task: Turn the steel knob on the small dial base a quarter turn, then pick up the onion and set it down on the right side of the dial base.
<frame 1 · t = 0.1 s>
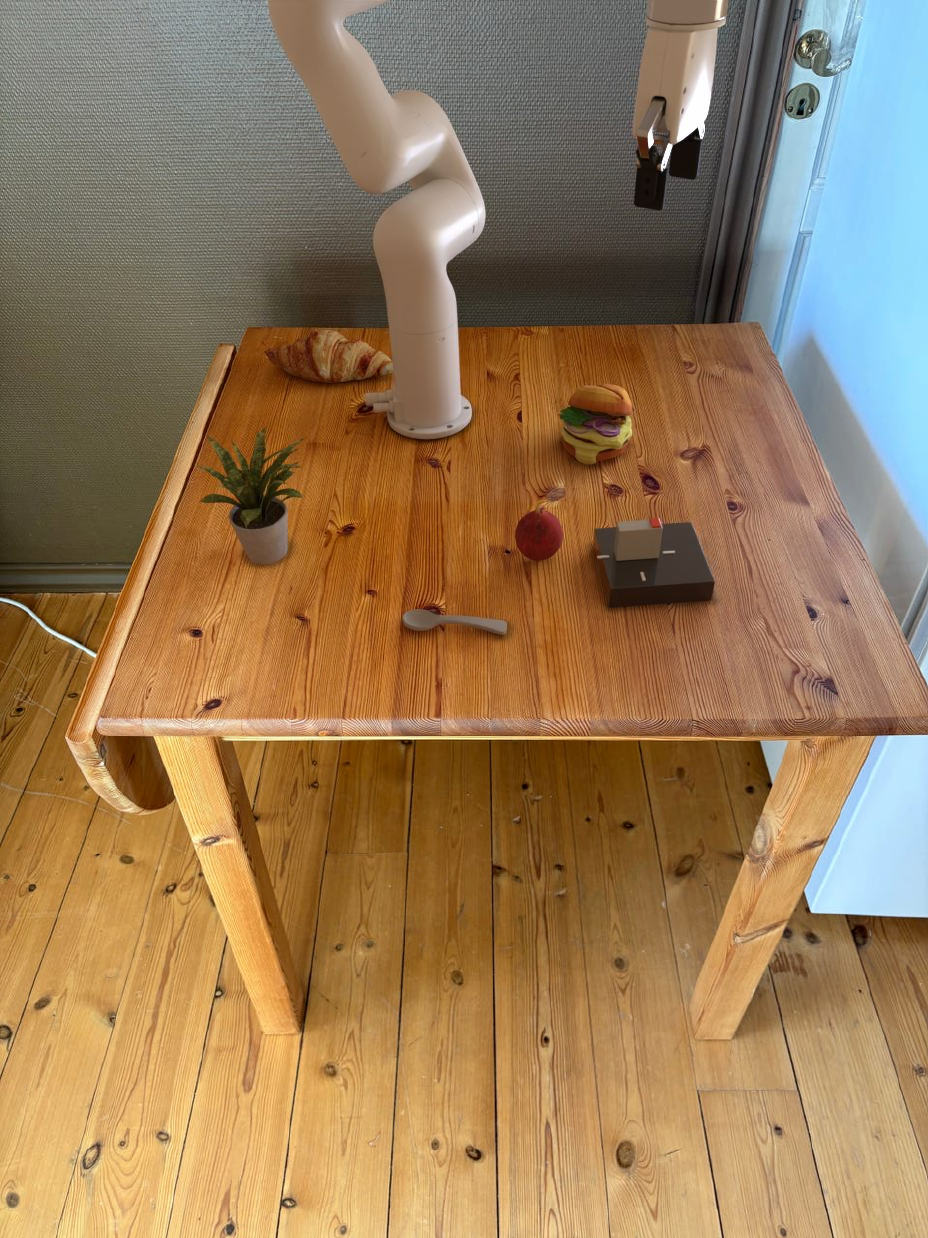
hand: (666, 191, 100), 37 cm above the table, tool pointing down, fingers open, 9 cm apart
cheeseburger: (594, 445, 132), on the table
spoon: (454, 629, 106), on the table
onion: (538, 560, 114), on the table
house plant: (272, 558, 116), on the table
knob: (637, 539, 108), point 5 cm above the table, hinge at 0.0°
dial base: (650, 573, 112), on the table
croissant: (332, 374, 149), on the table
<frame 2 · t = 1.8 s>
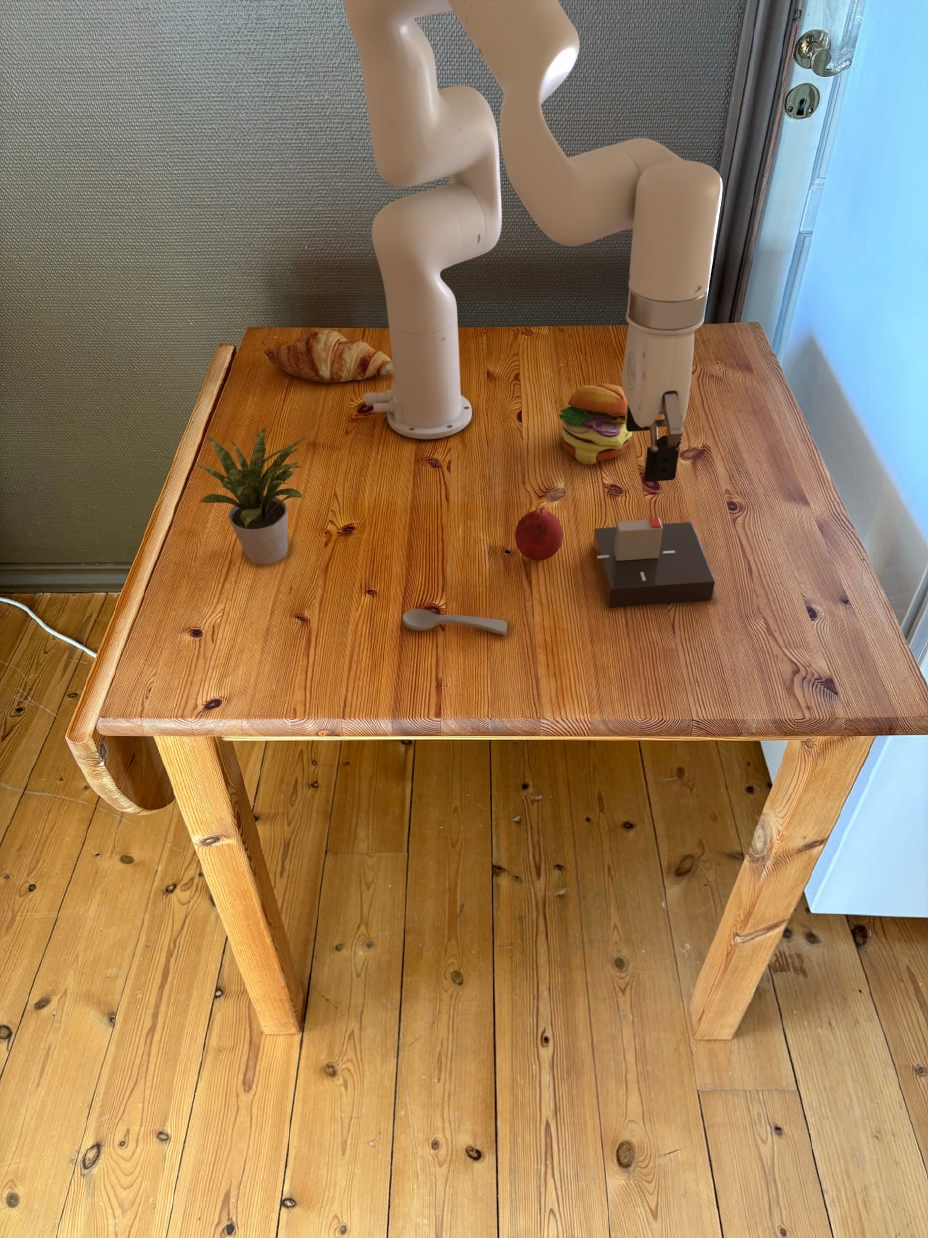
hand: (649, 453, 101), 16 cm above the table, tool pointing down, fingers open, 9 cm apart
nothing on the table moved.
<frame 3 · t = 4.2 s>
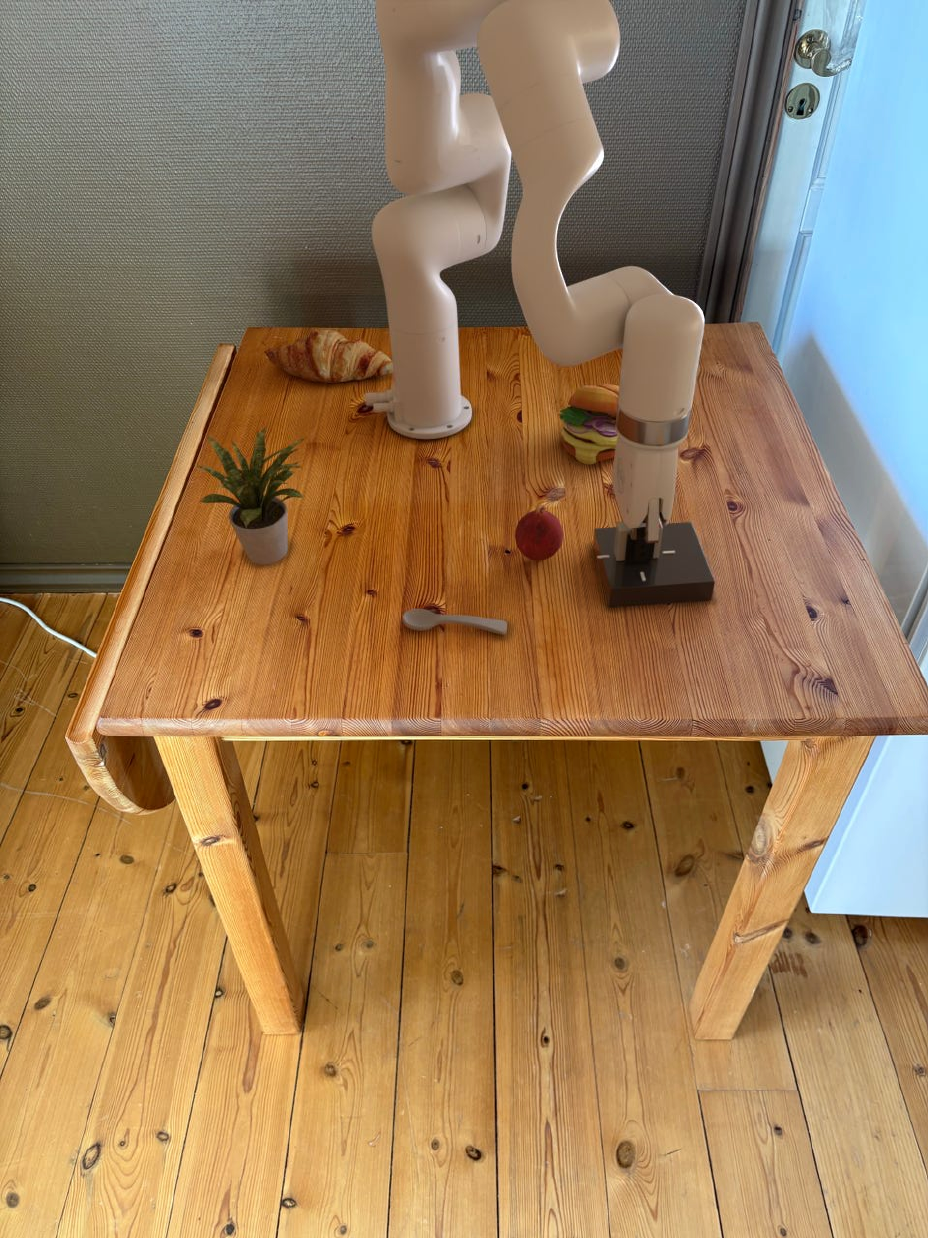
hand: (636, 552, 109), 3 cm above the table, tool pointing down, fingers closed on knob, 2 cm apart
knob: (637, 539, 108), point 5 cm above the table, hinge at 0.0°, touching gripper
everything else where it was.
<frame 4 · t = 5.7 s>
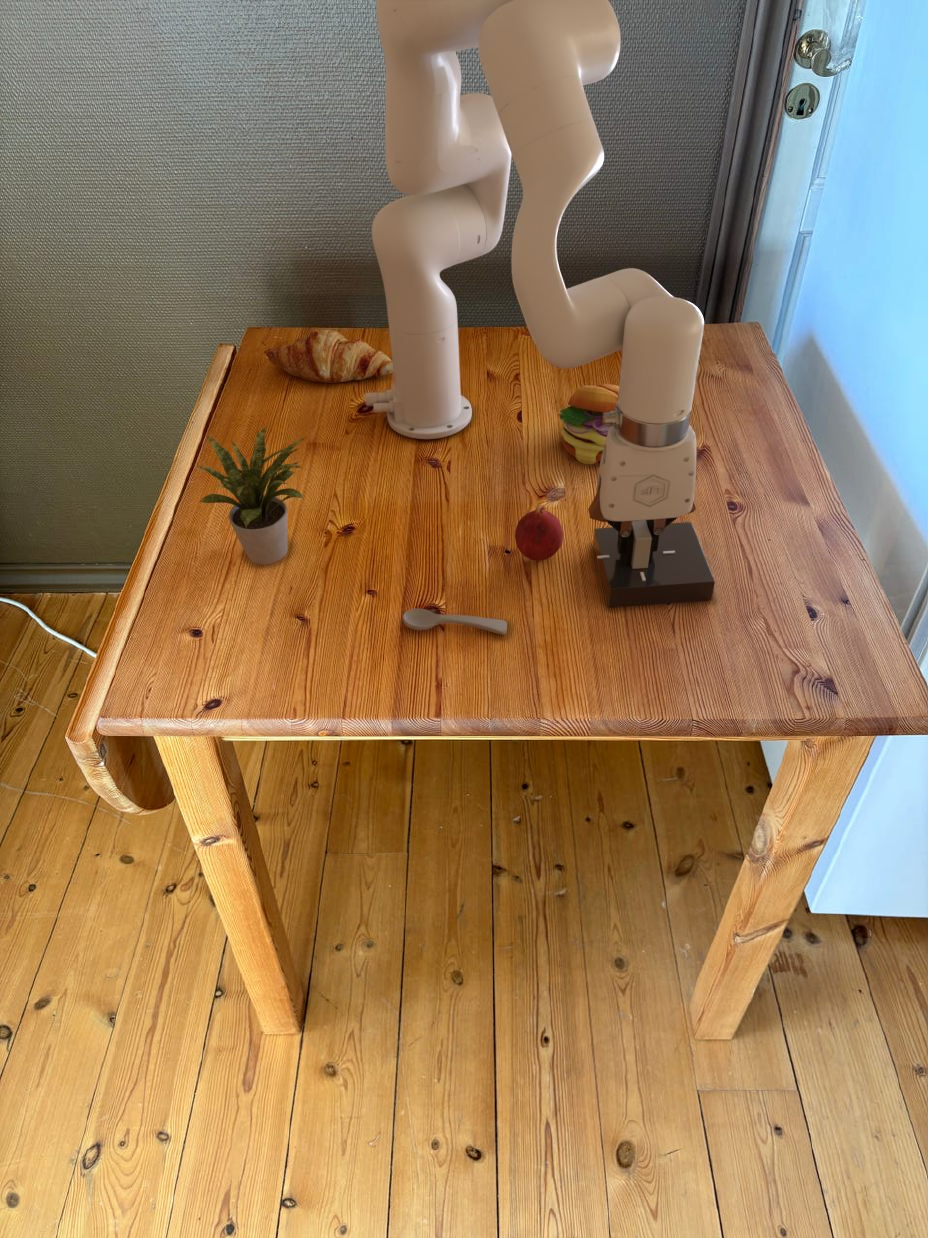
hand: (636, 554, 109), 3 cm above the table, tool pointing down, fingers closed on knob
knob: (637, 539, 108), point 5 cm above the table, hinge at 89.7°, touching gripper
everything else where it was.
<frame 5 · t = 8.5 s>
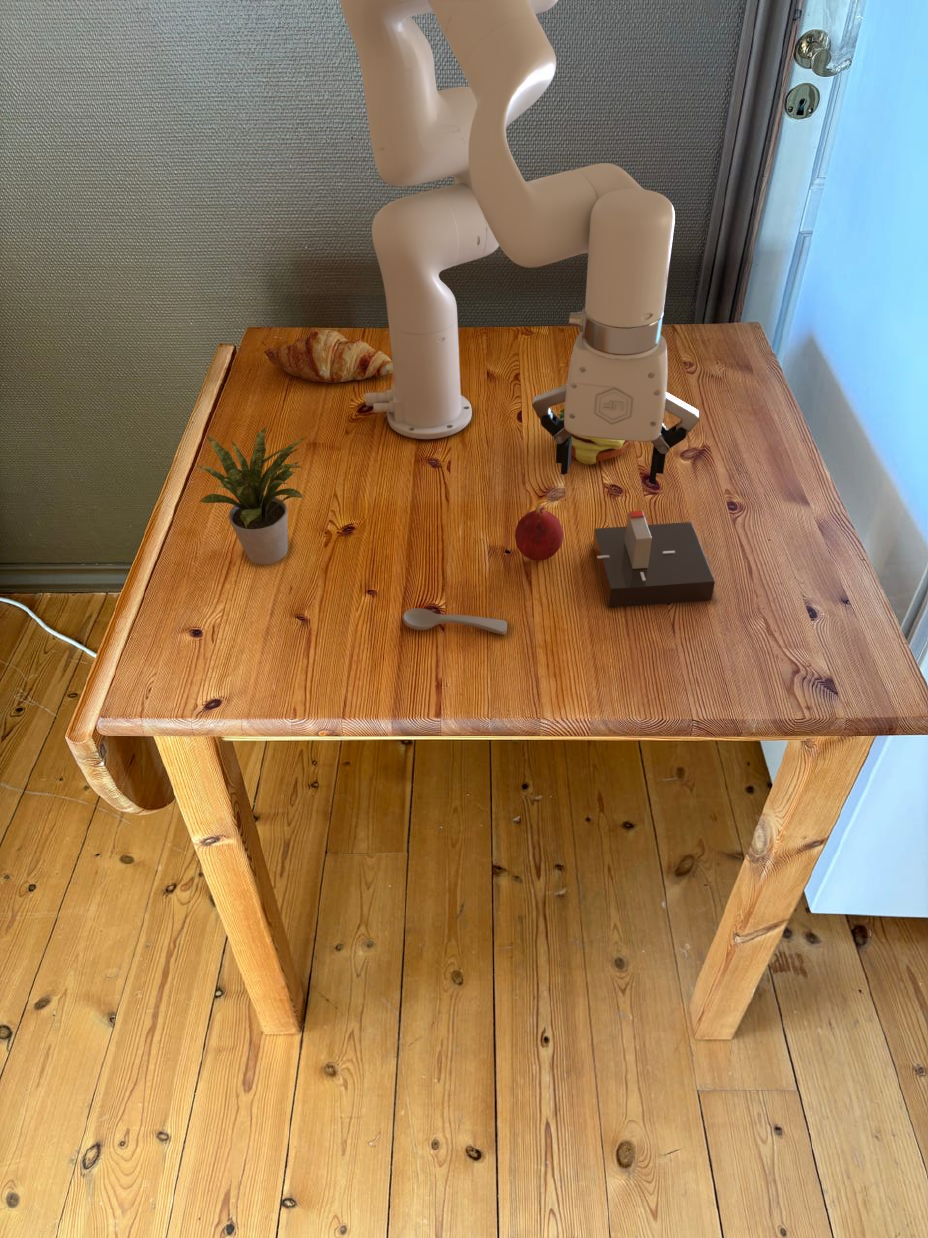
hand: (608, 472, 103), 14 cm above the table, tool pointing down, fingers open, 9 cm apart
knob: (637, 539, 108), point 5 cm above the table, hinge at 89.8°
everything else where it was.
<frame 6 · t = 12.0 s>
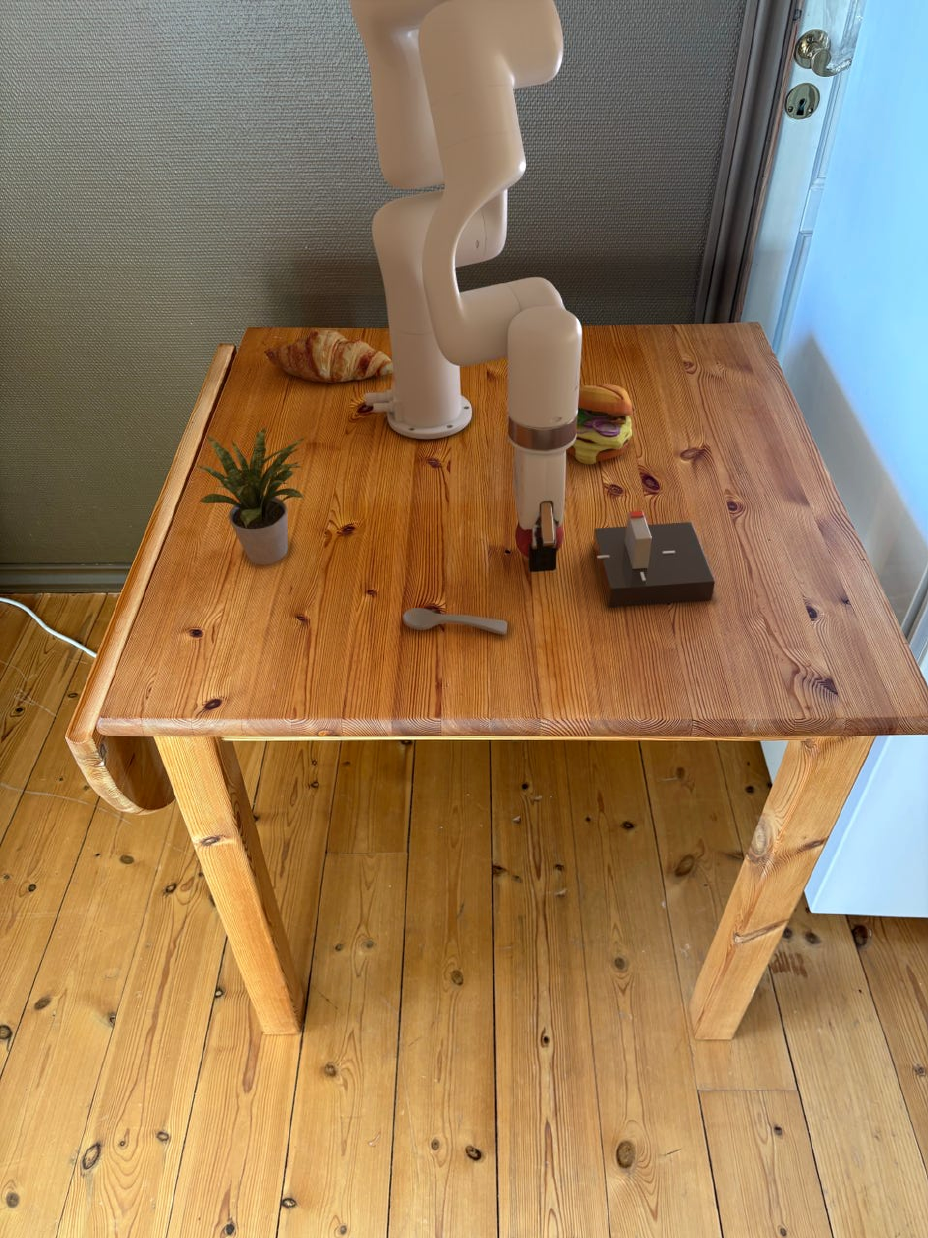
hand: (538, 550, 113), 1 cm above the table, tool pointing down, fingers closed on onion, 6 cm apart
onion: (538, 560, 114), on the table, touching gripper
everything else where it was.
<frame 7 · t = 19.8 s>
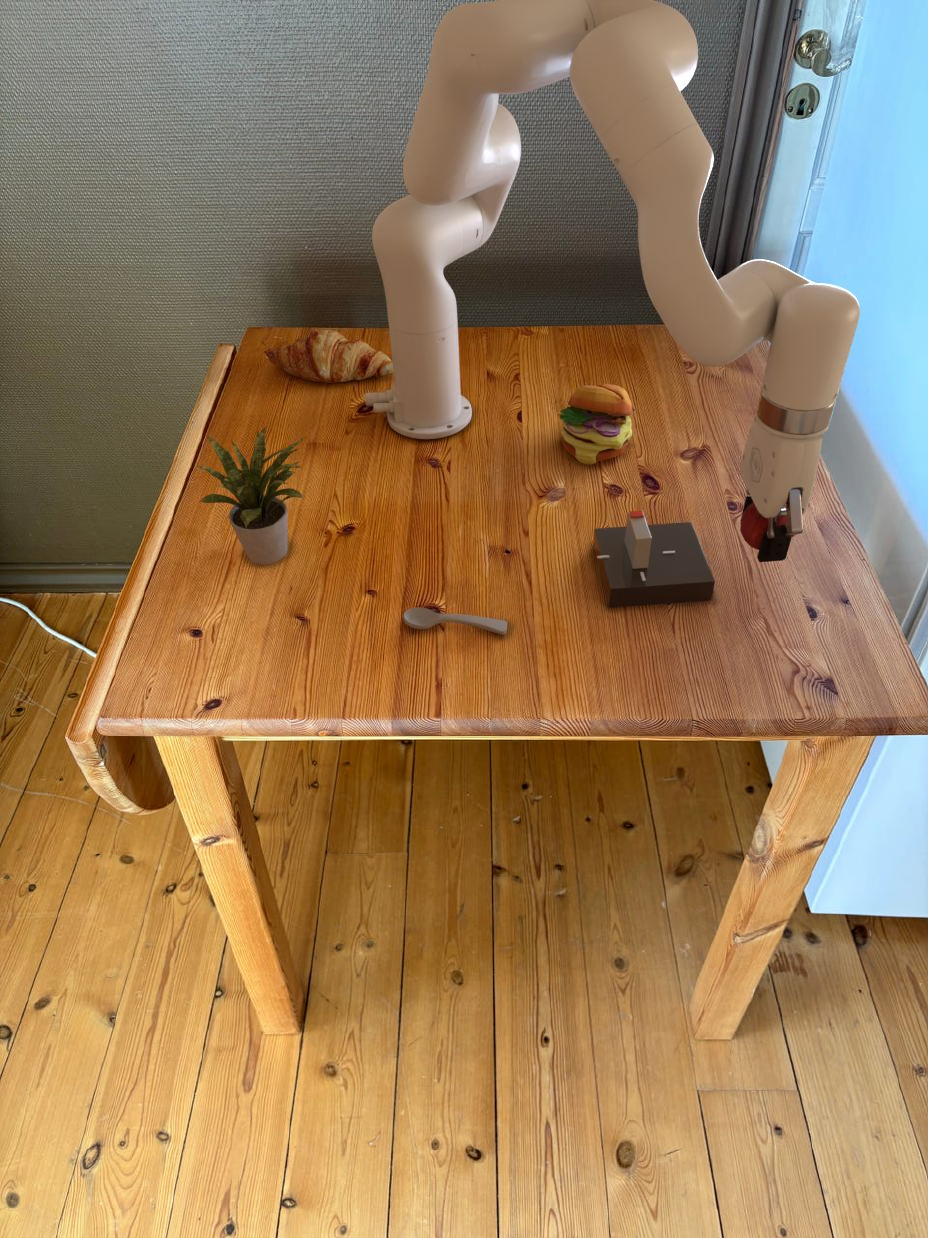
hand: (762, 540, 109), 4 cm above the table, tool pointing down, fingers closed on onion, 6 cm apart
onion: (759, 550, 110), point 2 cm above the table, touching gripper
everything else where it was.
when the fingers open (1 cm above the table, at t = 21.0 s): onion stays where it is, on the table.
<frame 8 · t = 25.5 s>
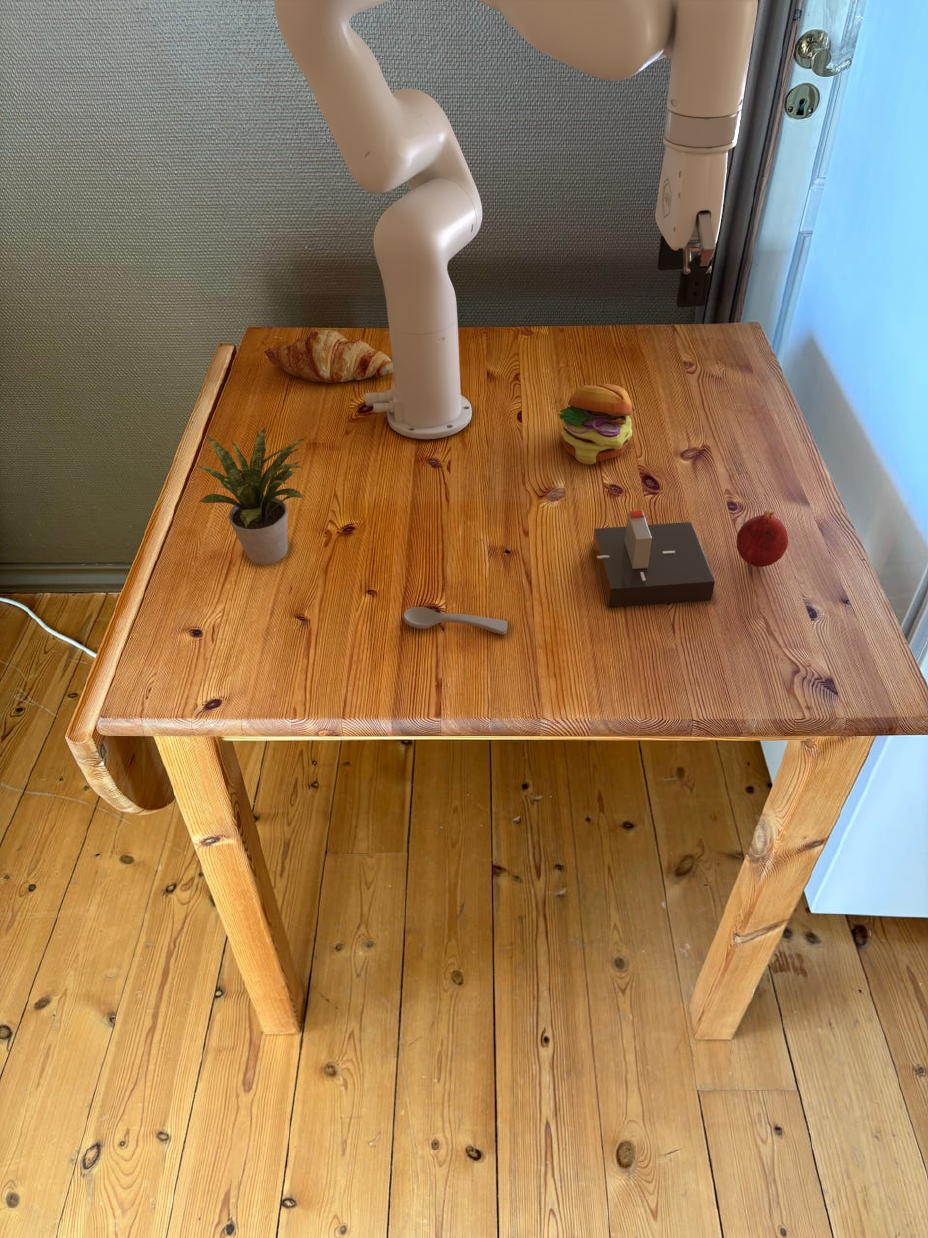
hand: (680, 286, 108), 26 cm above the table, tool pointing down, fingers open, 9 cm apart
onion: (756, 566, 112), on the table
everything else where it was.
at the end: knob at +90° (first picture: +0°); onion inside the target area on the table beside the dial base (2.1 cm from its centre), on the table; the gripper is holding nothing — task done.
